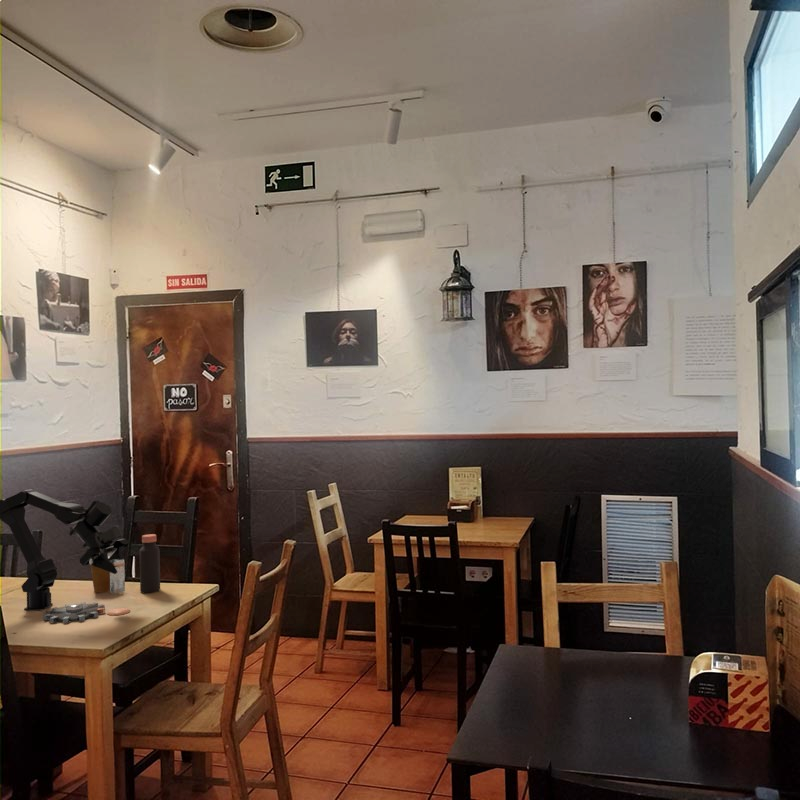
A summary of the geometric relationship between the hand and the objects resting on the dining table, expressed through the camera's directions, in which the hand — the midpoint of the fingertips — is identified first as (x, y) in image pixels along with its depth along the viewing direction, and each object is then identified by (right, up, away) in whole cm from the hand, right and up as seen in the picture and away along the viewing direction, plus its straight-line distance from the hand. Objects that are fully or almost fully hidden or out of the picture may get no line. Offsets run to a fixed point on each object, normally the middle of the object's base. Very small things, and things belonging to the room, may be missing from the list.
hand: (120, 571), depth 233 cm
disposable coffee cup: (-18, -14, +30) cm, 37 cm away
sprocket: (-14, -14, -1) cm, 20 cm away
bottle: (0, -14, +27) cm, 30 cm away
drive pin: (-1, -7, 0) cm, 7 cm away
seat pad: (-1, -13, +1) cm, 13 cm away
